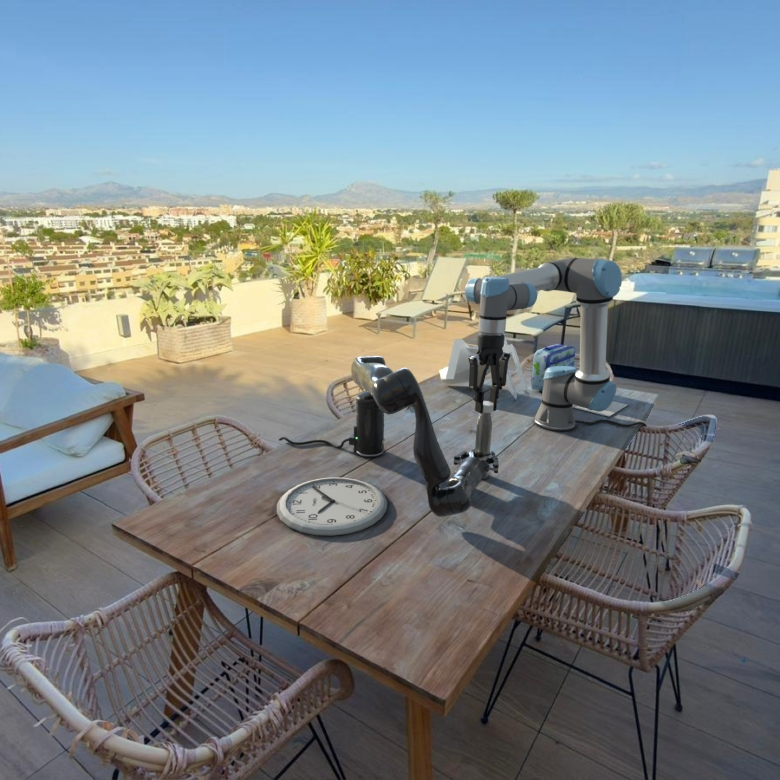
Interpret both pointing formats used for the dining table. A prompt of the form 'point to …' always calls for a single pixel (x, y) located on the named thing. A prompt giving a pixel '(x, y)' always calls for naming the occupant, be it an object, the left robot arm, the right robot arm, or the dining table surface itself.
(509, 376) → the white plastic object
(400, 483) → the dining table surface
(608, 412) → the invitation card
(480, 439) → the bottle
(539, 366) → the lunch box
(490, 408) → the cap
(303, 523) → the wall clock
